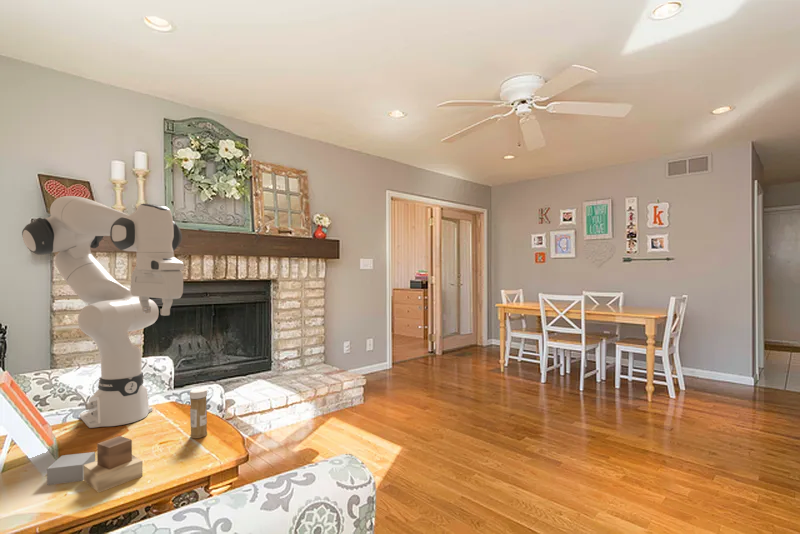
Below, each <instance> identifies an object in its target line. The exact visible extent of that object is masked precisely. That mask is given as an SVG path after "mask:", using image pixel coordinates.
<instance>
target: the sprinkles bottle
mask: <svg viewBox="0 0 800 534" xmlns="http://www.w3.org/2000/svg"><path fill="white" fill-rule="evenodd" d="M207 396H208V390H207V389H206V388H195V389H191V390H190V391H189V400H190V411H189V414H190V415H189V416H190V419H189V421H190V438H192V439H200V438H204V437H206V436H207V435H208V431H207V430H208V429H207V427H208V426H207V424H208V418H207V417H208V416H207V415H208V414H207V413H208V411H207Z"/></svg>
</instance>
